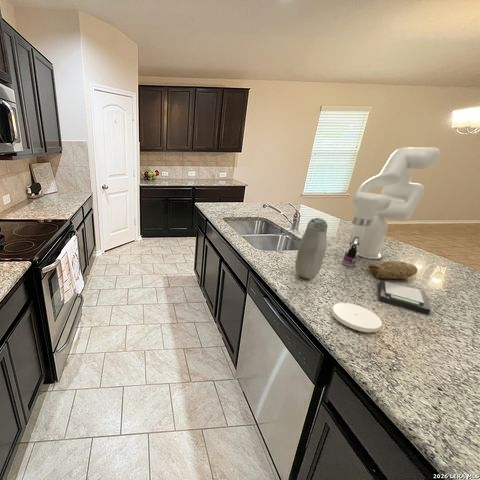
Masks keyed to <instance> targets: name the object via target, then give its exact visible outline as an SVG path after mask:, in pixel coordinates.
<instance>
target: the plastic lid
mask: <svg viewBox="0 0 480 480" xmlns="http://www.w3.org/2000/svg"><path fill="white" fill-rule="evenodd" d="M331 315H332V316H333V317H334V319H335V320H336V321H338V322H339V323H341V324H342V325H344V326H346V327H348V328H350V329H353V330H356V331H359V332H364V333H376V332H379V331H380V330H381V328H382V326H383V321H382V319H381V318H380V317H379V316H378V315H377V314H376V313H374V312H373V311H371V310H370V309H368V308H366V307H364V306H361V305H357V304H354V303H349V302H348V303H347V302H338V303H335V304H333V306H332V307H331Z"/></svg>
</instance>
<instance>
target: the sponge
mask: <svg viewBox="0 0 480 480" xmlns="http://www.w3.org/2000/svg"><path fill="white" fill-rule="evenodd" d="M416 266H417V265H415V264H412V263H408V262H405V261H400V260H389V261H384V262H382V263H377V264H369V265H368V271H369V272H370V273H371V274H372V275H374V276H375V278H377V279H381V280H382V279H383V280H385V279H386V280H390V279H395V280H396V279H397V280H398V279H399V280H400V279H409V278H411V277H413V276H415V275H416V274H417V273H418V267H416Z"/></svg>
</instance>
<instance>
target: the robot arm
mask: <svg viewBox="0 0 480 480" xmlns="http://www.w3.org/2000/svg"><path fill="white" fill-rule="evenodd" d="M440 157H441V150H440V149H439V148H438V147H418V146H417V147H416V146H415V147H414V146H408V147H407V146H406V147H400V148H397V149H395V151H394V152H393V153H391V155H390V157H389V158H388V160H387V162H386V163H385V165H384V166H383V167H382V169H381V171H380V173H379V174H377V175H375V176H373V177H371V178H369V179H367V180H366V181H364V182H362V184H361V185H360V186H359V187H358V189H357V190H356V192H355V194H354V195H353V197H352V200H351V203H352V205H353V206H354V207H355V210H354V213H353V216H352V220H351V224H352V227H351V230H350V234H349V237H348V240H347V244H348V245H349V246H351V247H350V249H349V251H348V254H347V256H348V257H352V258H355V256H356V253H357V252H358V253H359V254H358V257H361V258H364V259H369V260H380V259H382V254H381V253H380V250H381V248H382V245H383V242H384V239H385V237H386V234H387V231H388V228H389V224H388V221H387V219H389V220H392V221H393V220H394V221H399V222H406V221H408V220H410V219H411V217H412V216H413V214H414V213H415V211H416V209H417V207H418V206H419V204H420V203H421V201H422V199H423V197H424V194H425V192H426V188H425V186H424V185H423V184H422V183H416V182H411V180H412V179H413V177H414V176H413V172H412V171H411V169H412V170H425V169H428V168H430V167H432V166H434V165H435V164H436V163H437V162H438V161H439V159H440ZM381 187H383V188H382V190H381V192H380V194H378V193H373V192H369V191H370V190H373V189H376V188H381ZM357 248H359V249H358V251H357Z"/></svg>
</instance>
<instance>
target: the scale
mask: <svg viewBox="0 0 480 480" xmlns="http://www.w3.org/2000/svg"><path fill="white" fill-rule="evenodd" d="M378 301H379V302H382V303H386V304H389V305H392V306H396V307H399V308H402V309H407V310H409V311H413V312H417V313H420V314H424V315H426V316H428V315H429V314H430V312H431V308H430V305H429V301H428V299H427V296H426V293H425V290H421V289H419V288H418V289H417V288H414V287H409V286H405V285H402V284H397V283H395V282H394V283H393V282H390V281H386V280H382V279H381V280H379V282H378Z"/></svg>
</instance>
